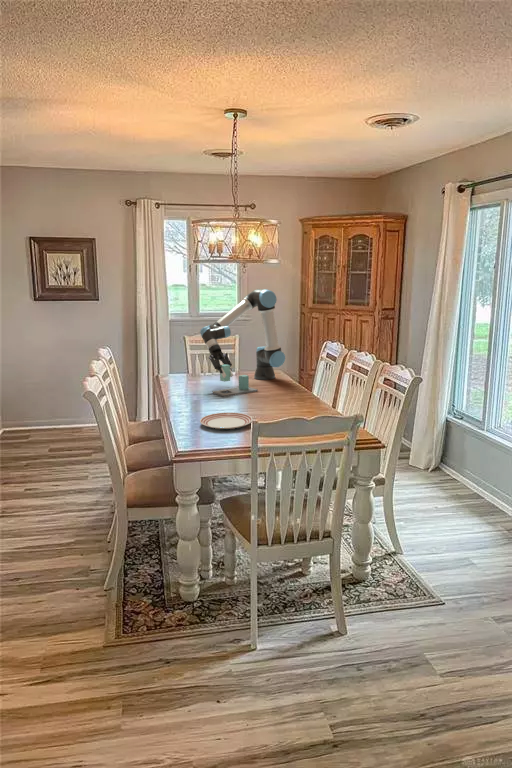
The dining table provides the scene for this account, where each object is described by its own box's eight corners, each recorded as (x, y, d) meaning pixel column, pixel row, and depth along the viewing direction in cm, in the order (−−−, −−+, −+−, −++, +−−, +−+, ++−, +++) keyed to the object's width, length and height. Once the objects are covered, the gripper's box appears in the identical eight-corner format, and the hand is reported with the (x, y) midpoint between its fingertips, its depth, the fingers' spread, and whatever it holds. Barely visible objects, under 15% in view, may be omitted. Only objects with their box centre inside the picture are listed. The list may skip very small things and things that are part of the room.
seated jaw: (244, 389, 392) (244, 374, 390) (248, 390, 388) (248, 375, 386) (238, 390, 389) (238, 375, 387) (243, 391, 385) (242, 376, 383)
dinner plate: (240, 435, 292) (240, 428, 291) (190, 429, 302) (190, 423, 301) (260, 420, 317) (260, 414, 316) (213, 416, 327) (213, 410, 326)
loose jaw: (226, 379, 381) (225, 364, 379) (230, 380, 378) (230, 365, 376) (220, 380, 379) (219, 365, 377) (224, 381, 375) (224, 366, 373)
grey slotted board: (244, 387, 397) (244, 386, 397) (257, 391, 387) (257, 389, 386) (212, 393, 382) (212, 391, 382) (224, 397, 371) (224, 395, 371)
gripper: (222, 349, 392) (237, 378, 382) (200, 352, 381) (214, 381, 372) (227, 342, 387) (242, 371, 377) (204, 345, 376) (219, 374, 367)
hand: (228, 376), depth 375 cm, fingers closed on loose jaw, 5 cm apart
